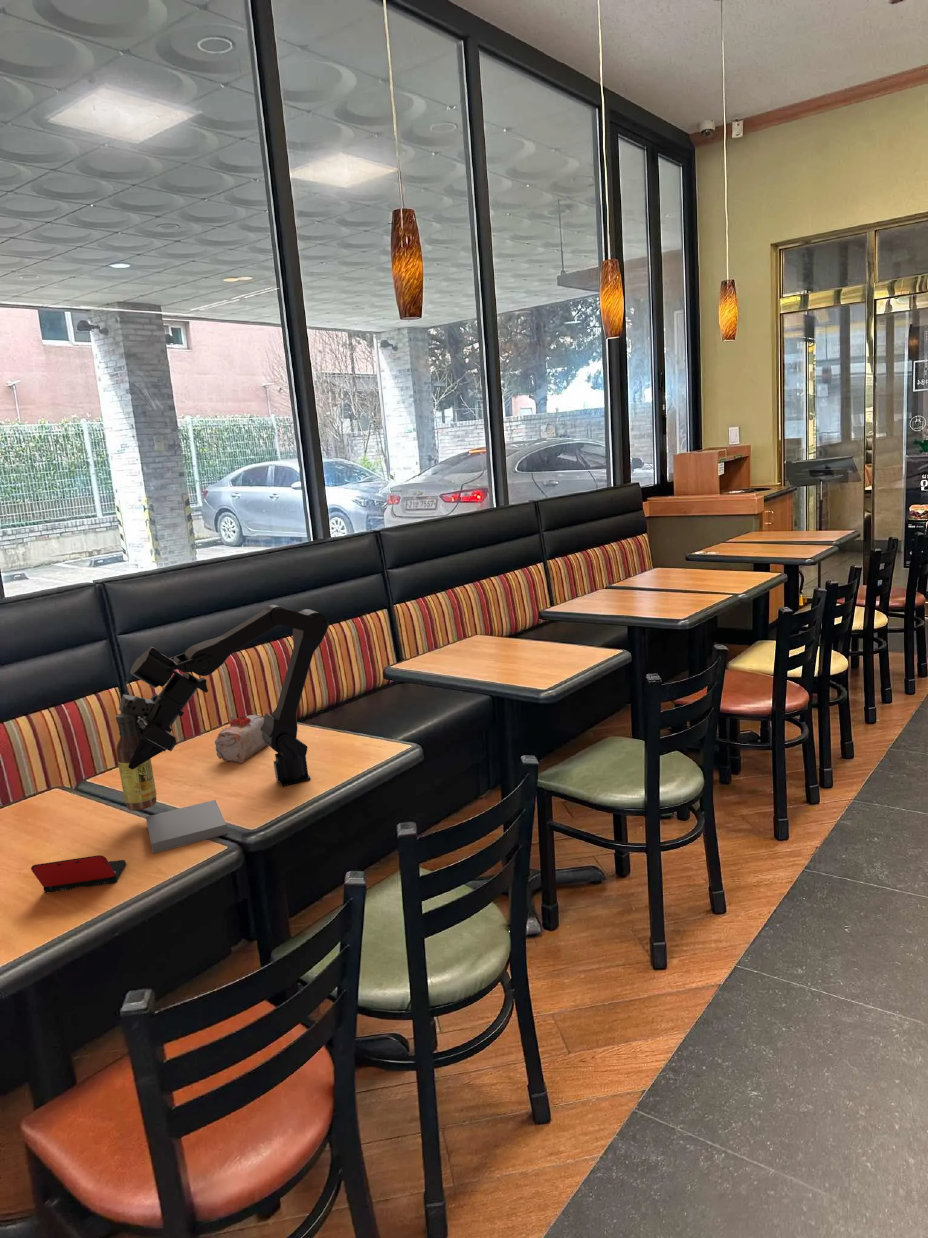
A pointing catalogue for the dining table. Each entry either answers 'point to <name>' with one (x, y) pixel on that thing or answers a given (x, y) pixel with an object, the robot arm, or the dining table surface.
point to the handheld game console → (78, 873)
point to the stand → (185, 826)
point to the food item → (240, 739)
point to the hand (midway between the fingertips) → (127, 763)
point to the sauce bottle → (139, 779)
